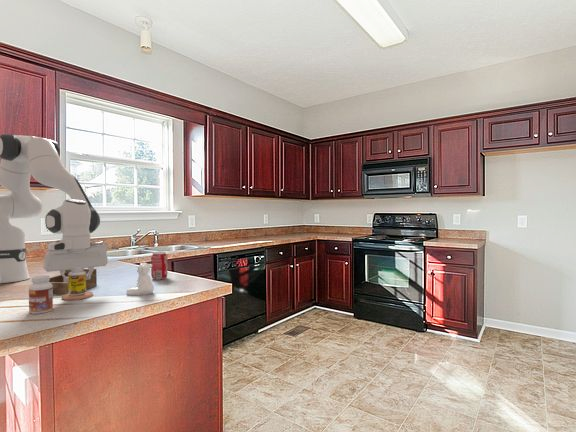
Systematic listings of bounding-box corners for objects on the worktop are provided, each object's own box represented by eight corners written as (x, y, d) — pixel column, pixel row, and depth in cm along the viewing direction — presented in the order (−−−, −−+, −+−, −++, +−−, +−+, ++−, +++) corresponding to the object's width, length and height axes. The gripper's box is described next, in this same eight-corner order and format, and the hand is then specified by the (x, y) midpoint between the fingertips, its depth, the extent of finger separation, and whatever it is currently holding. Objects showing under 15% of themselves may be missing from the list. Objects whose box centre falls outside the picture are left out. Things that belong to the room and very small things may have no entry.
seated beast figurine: (144, 289, 140) (144, 260, 139) (161, 291, 136) (160, 261, 136) (125, 295, 131) (124, 263, 130) (142, 297, 128) (142, 264, 127)
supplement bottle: (68, 296, 125) (68, 268, 124) (68, 293, 129) (67, 266, 129) (86, 294, 128) (86, 267, 127) (85, 291, 132) (85, 264, 132)
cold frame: (41, 292, 134) (41, 274, 134) (65, 285, 148) (65, 268, 148) (75, 293, 134) (75, 275, 134) (96, 285, 147) (96, 268, 147)
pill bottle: (24, 314, 107) (24, 279, 106) (35, 309, 113) (34, 275, 113) (47, 313, 108) (46, 278, 108) (56, 308, 114) (55, 274, 114)
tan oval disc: (55, 300, 124) (55, 298, 124) (73, 293, 134) (73, 291, 134) (82, 300, 123) (82, 298, 123) (98, 293, 133) (98, 291, 133)
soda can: (164, 276, 166) (163, 251, 165) (169, 278, 160) (169, 253, 160) (149, 278, 161) (148, 252, 161) (154, 281, 156) (154, 254, 155)
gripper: (105, 240, 137) (105, 275, 138) (42, 244, 123) (42, 283, 124) (109, 242, 133) (110, 278, 133) (45, 246, 119) (45, 286, 119)
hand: (77, 280), depth 128 cm, fingers closed on supplement bottle, 5 cm apart
